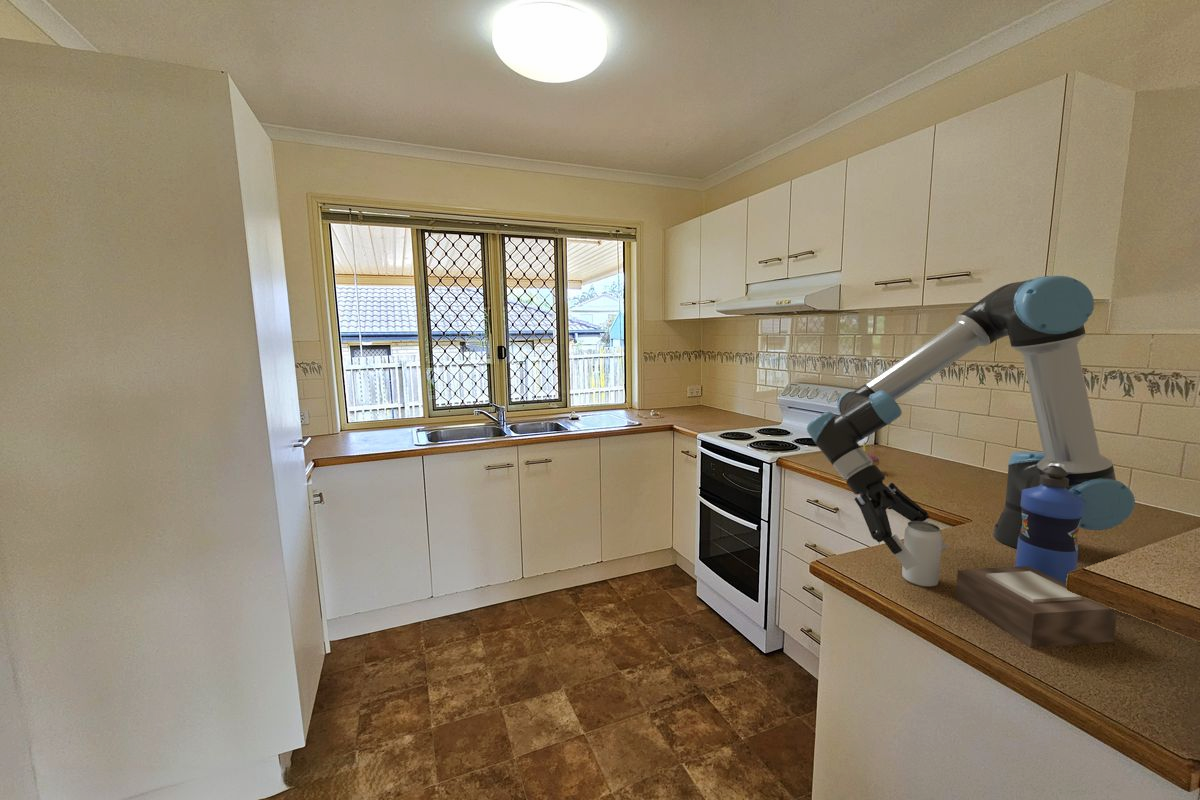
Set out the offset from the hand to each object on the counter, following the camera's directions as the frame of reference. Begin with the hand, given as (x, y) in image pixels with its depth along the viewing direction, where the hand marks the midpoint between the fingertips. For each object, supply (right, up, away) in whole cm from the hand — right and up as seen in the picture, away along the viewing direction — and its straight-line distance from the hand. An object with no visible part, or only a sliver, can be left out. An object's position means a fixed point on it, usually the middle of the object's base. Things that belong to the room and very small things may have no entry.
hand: (928, 558), depth 98 cm
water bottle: (+24, -5, 0) cm, 24 cm away
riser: (+10, -7, -12) cm, 17 cm away
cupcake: (+34, +5, +83) cm, 90 cm away
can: (-1, -5, +2) cm, 6 cm away
